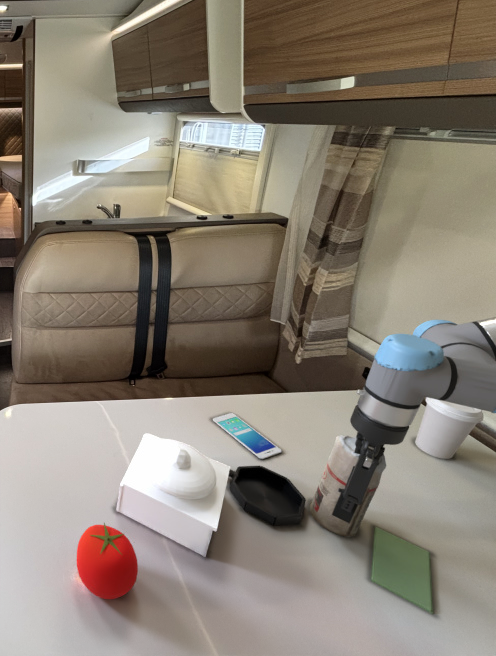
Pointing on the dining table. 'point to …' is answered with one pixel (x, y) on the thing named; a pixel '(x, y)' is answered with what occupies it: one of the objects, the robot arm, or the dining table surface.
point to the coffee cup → (445, 427)
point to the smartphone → (247, 436)
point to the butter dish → (174, 491)
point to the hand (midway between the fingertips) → (343, 503)
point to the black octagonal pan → (267, 495)
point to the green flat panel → (402, 569)
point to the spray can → (337, 478)
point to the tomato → (106, 562)
